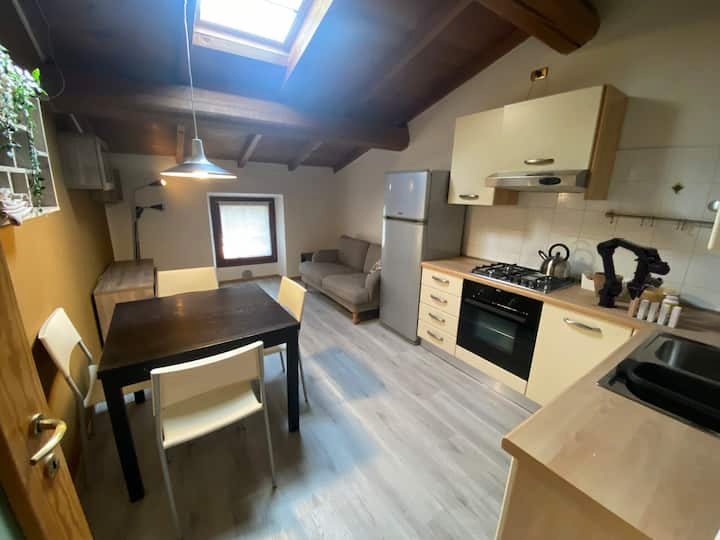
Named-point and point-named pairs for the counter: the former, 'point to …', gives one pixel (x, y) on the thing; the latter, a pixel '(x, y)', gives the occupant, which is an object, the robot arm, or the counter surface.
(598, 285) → the plant pot
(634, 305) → the terracotta domino
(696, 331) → the counter surface
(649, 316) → the ivory domino
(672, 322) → the ivory domino
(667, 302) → the pill bottle
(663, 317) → the ivory domino
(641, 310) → the ivory domino
